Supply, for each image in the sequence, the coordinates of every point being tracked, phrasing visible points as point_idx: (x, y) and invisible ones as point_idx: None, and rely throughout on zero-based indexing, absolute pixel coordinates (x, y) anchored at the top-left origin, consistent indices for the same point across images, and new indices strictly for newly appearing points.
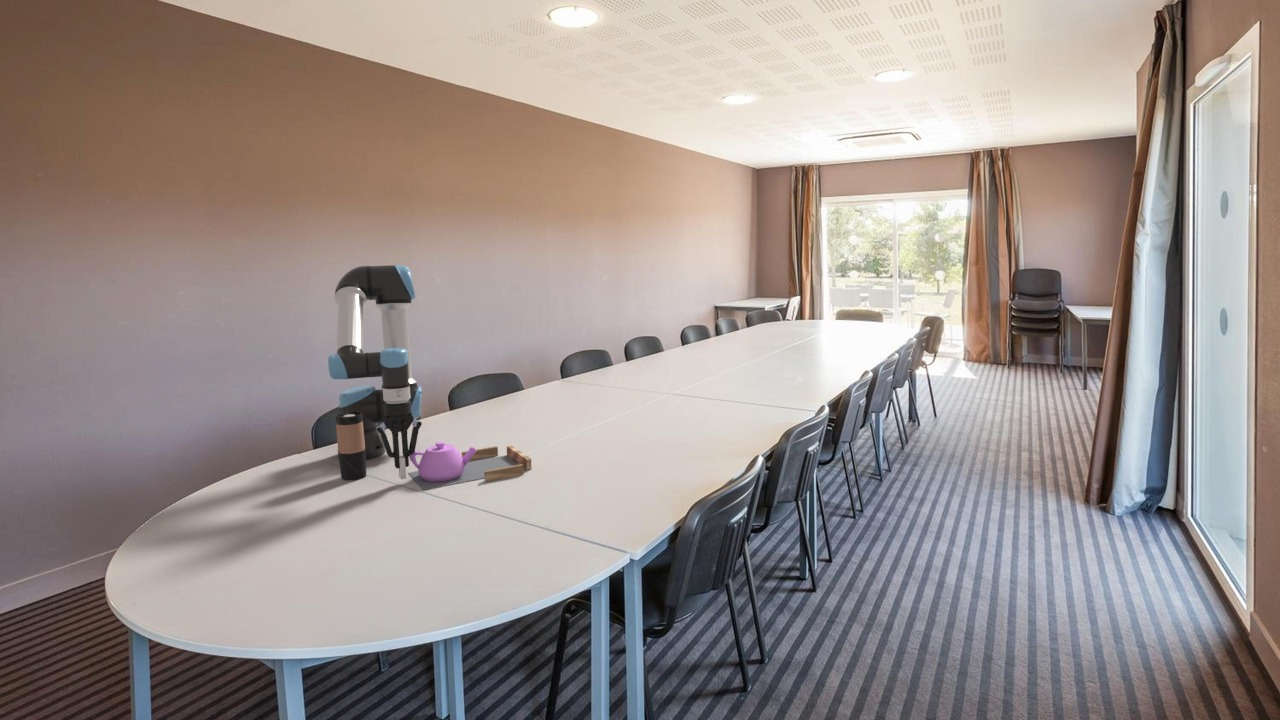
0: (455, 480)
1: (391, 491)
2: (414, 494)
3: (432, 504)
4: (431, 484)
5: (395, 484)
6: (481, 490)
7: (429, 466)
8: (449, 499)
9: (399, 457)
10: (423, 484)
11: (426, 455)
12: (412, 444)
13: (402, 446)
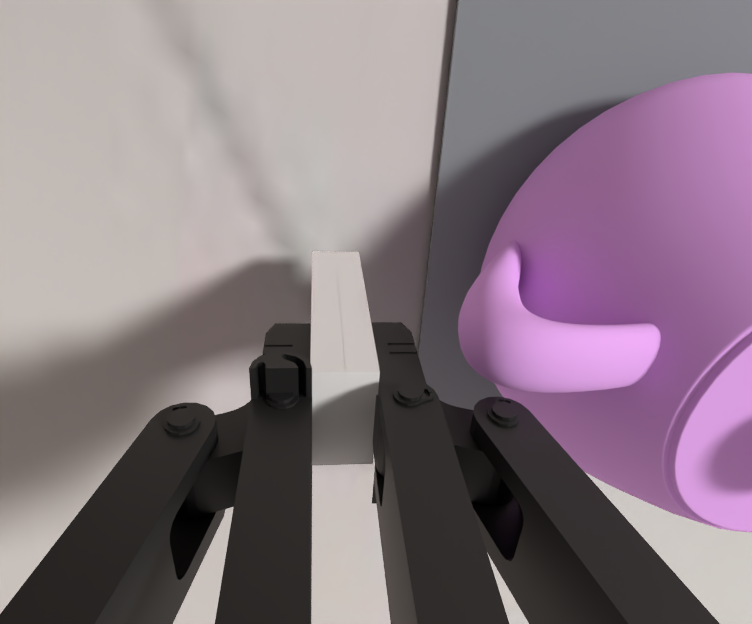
0: None
1: (223, 370)
2: (346, 477)
3: (383, 609)
4: (491, 393)
5: (274, 241)
6: None
7: None
8: None
9: (317, 432)
10: (449, 368)
11: (612, 437)
12: (524, 595)
13: (392, 500)
